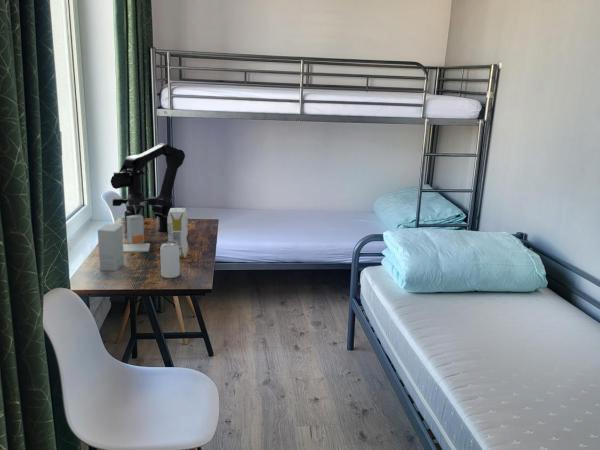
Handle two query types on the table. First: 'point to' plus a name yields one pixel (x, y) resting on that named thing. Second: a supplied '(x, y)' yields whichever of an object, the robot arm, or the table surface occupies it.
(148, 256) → the table surface
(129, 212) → the supplement bottle
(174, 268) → the can
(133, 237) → the skincare box
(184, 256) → the juice carton
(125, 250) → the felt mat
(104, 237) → the skincare box
